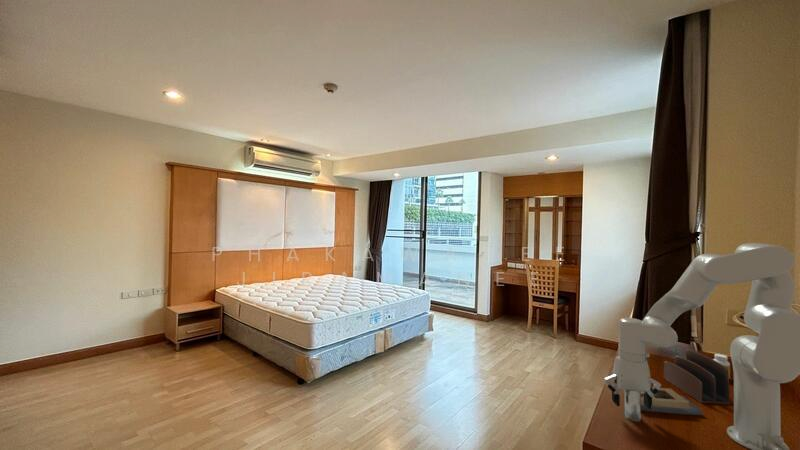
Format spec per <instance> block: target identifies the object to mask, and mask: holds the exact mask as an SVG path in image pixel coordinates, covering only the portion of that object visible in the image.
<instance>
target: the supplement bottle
mask: <svg viewBox="0 0 800 450" xmlns="http://www.w3.org/2000/svg"><path fill="white" fill-rule="evenodd" d="M712 359H713V360H715V361H717V362H718V363H720V364H721V365H723V366H725V367H726V368H727V369H728V374H729V379H730V380H731V363H730V362H729V361H728V359H729V358H728V356H727V355H724V354H721V353H715V354H714V358H712Z"/></svg>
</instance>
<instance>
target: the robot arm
mask: <svg viewBox="0 0 800 450" xmlns="http://www.w3.org/2000/svg"><path fill="white" fill-rule="evenodd" d="M795 263H796V259H795V255H794V254H793V253H792V252H791V250H788V249H787V248H785V247H783V246H779V245H777V244H769V243H768V244H767V243H759V242H747V243H743V244H740V245H739V246H737V247H736V249H735V251H733V253H727V254H715V253H703V254H699V255H697V256H696V257H695V258H693V260H691V262H690V264H689V266H687V268H686V269H685V270H684V272H683V273H682V275H681V276H680V278H679V279H678V280H677V281H676V283H675V284H674V286H673V287H672V288H671V289H670V290H669V291H668V292H666V293H665V294H664V295H663V296H662V297H661V298H659V300H657V301H656V302H655V303H653V305H652V306H651V308H650V309H649V311H648V312H647V313H646V315H644V317H643V319H642V320H641V319H639V318H638V319H637V318H633V317H622V318H620V319H619V321H618V355H616V356H615V359H614V363H613V369H612V374H611V375H609V376H606V377H603V382H604V383H605V385H606V387H607V388H608V389H609V390H610V391H611V399H612V402H613V404H615V406H616V407H620V406H621V405H620V404H621V403H620V402H621V401H620V398H621V396H620V394H619V393H620V392H621V391H622V390H634V391H645V392H646V393H644V405H645V406H646V407H647V408H649V409H651V405H652V397H654V395H655V394H656V393H657V392H658V389H659V388H662V387H661V386H662V384H661V383H660V382H659V381H658V380H655V379H653V378H651V372H650V366H649V363H648V360H647V358H650V356H651V355H650V353H649V352H647V351H646V349H647V348H646V347H647V346H646V344H647V345H651V346H654V347H658V348H664V349H665V348H667V349H668V348H672V347H674V346H676V344H677V343H678V340H679V338H678V337H679V336H678V334H677V331H676V330H674V328H673V327H671V326H672V325H673V323H674V322H675V321H676V319H678V317H679V316H680V315H682V314H683V313H685V312H687V311H690V310H694V309H698V308H701V307H702V306H703V305H704V304H705V302H707V300H708V299H709V298H710V296H711V294H713V292H714V291H715V290H716V288H717V287H718V286H719V285H733V284H739V283H746V282H751V287H750V291H749V292H750V293H749V296H748V300H747V304H746V307H745V310H744V315H743V321H744V323H745V325H746V326H747V327H748V329H750V330H751V331H754V332H756V333H757V334H758V336H756V335H750V334H745V335H743V334H742V335H740V336H738V337H735V338H734V339H733V340H732V341H731V344H730V348H729V351H730V359H731V364H732V371H733V425H730V426H728V427H727V428H726V433H727V435H728V436H729V438H730V439H732V440H733V441H735V442H736V443H737V444H739V445H741V446H743V447H745V448H747V449H750V450H791V449H790V448H789V446H788V445H787V444H786V443H785V442H784V437H782V436H781V385H780V384H786V383H789V382H792V381H794V380H795V379H796V378H798V377H799V375H800V314H798V313H796V312H795V311H792V307H793V302H794V297H795V291H796V290H795V289H796V284H795V280H794V277H793V276H792V273H791V270H792V269H793V268H794V266H795ZM612 382H613V383H614V384H611V383H612ZM652 384H653V385H652Z"/></svg>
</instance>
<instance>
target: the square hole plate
mask: <svg viewBox="0 0 800 450" xmlns="http://www.w3.org/2000/svg"><path fill="white" fill-rule="evenodd" d="M622 390H623V389H622ZM622 392H623V394H622V395H623V397H624V398H625V390H623V391H622ZM644 393H646V392H645V391H640V411H641V412H654V413H664V414H665V413H666V414H677V415H678V414H679V415H692V416H703V410H702V408H700V407H699V406H698V405H696V404H695V403H693V402H692V401H691V400H690V399H689V398H687V397H686V396H684V395H683V394H679V393H677V392H675V391H674V389H672V388H668V387H667V388H666V387H665V388H663V387H660V388H659V389H658V392H657V393H656V394H655V395H654V397H652V405H651V409H649V408H647V407H646V406H645V405H644Z"/></svg>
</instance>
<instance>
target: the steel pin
mask: <svg viewBox="0 0 800 450" xmlns="http://www.w3.org/2000/svg"><path fill="white" fill-rule="evenodd" d="M641 412H642V411H640V391H634V390H625V397H624V417H625V418H626V419H627V420H629V421H632V422H635V423H637V422H641V418H642V416H641Z"/></svg>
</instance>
